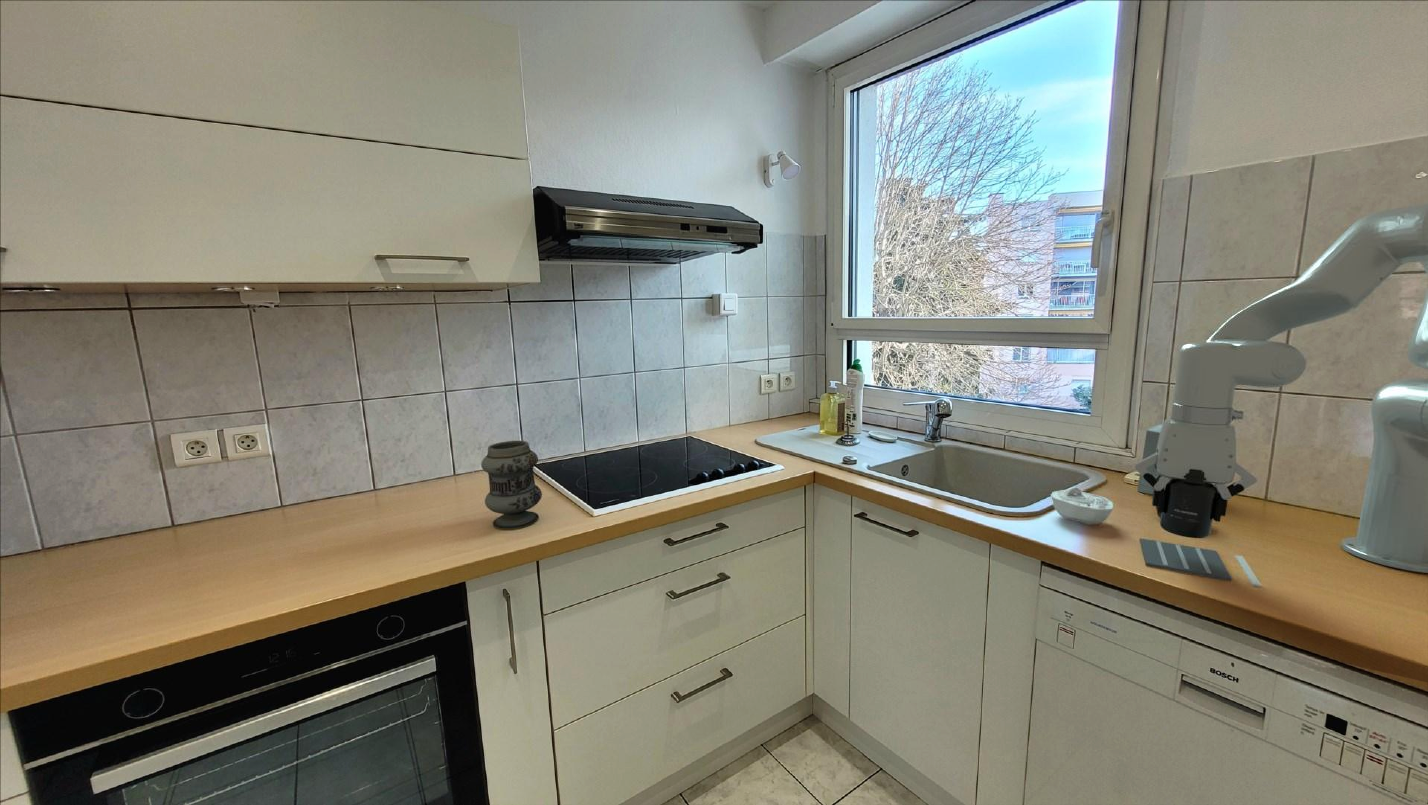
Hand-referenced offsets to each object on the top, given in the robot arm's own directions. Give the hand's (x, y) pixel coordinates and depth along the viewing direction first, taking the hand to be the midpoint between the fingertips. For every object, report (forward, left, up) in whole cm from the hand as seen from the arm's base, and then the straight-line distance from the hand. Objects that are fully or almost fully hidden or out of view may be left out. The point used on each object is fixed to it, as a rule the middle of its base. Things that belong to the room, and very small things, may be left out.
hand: (1186, 513), depth 95 cm
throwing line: (-9, 0, -9) cm, 12 cm away
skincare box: (-1, -42, -9) cm, 43 cm away
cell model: (+15, -12, -9) cm, 21 cm away
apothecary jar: (+121, +50, -9) cm, 131 cm away
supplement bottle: (0, 0, -3) cm, 3 cm away
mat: (0, 0, -9) cm, 9 cm away
